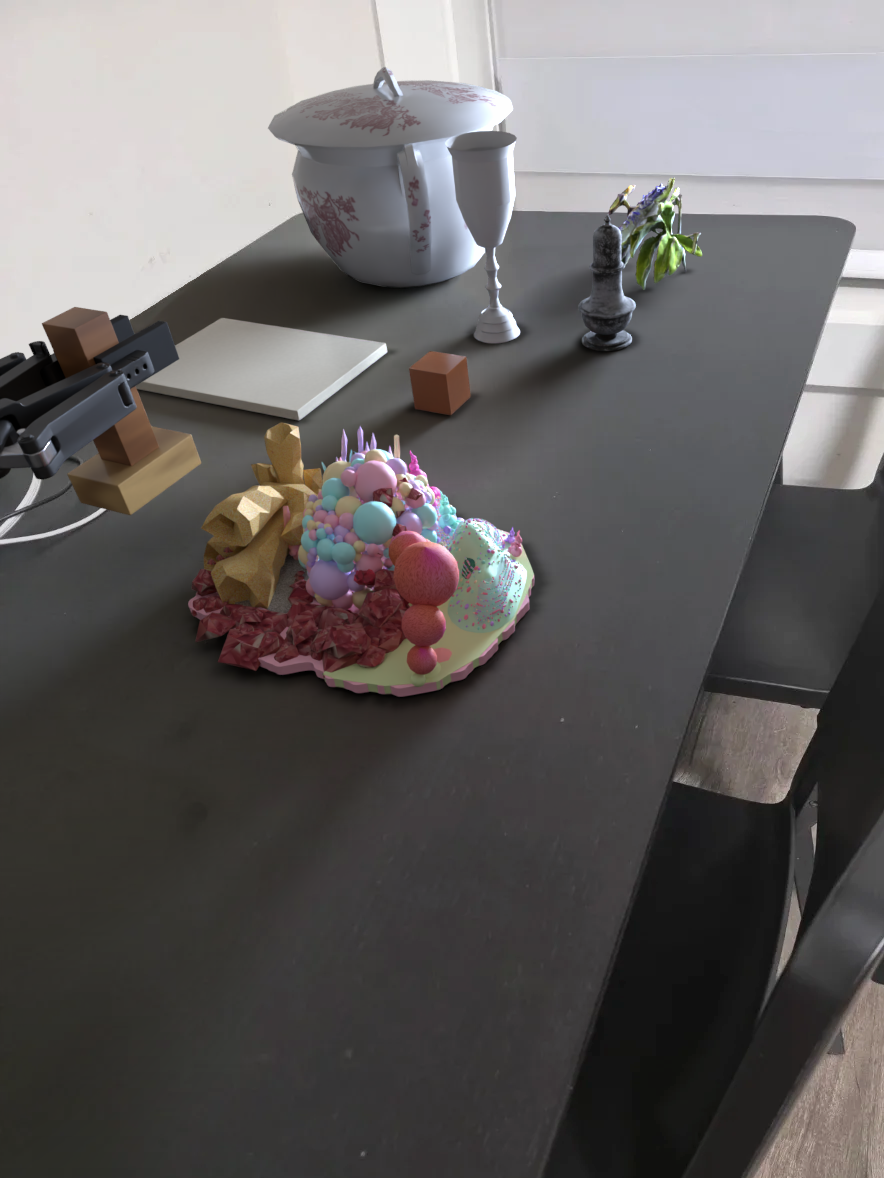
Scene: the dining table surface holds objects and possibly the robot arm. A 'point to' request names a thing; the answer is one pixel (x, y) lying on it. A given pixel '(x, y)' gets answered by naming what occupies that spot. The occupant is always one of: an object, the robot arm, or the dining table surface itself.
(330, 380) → the tile
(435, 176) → the chamber pot
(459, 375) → the clay cube
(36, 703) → the dining table surface
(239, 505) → the pastel sphere sculpture
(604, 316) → the salt shaker
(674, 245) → the passion flower
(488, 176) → the chalice
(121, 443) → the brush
